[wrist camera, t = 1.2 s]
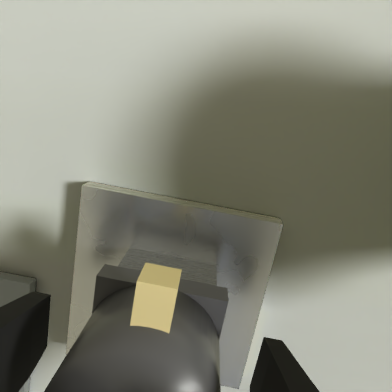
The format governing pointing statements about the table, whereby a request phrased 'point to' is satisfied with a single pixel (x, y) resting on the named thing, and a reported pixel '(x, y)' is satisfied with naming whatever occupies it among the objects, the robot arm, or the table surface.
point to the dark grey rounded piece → (147, 335)
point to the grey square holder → (177, 256)
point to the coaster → (15, 296)
